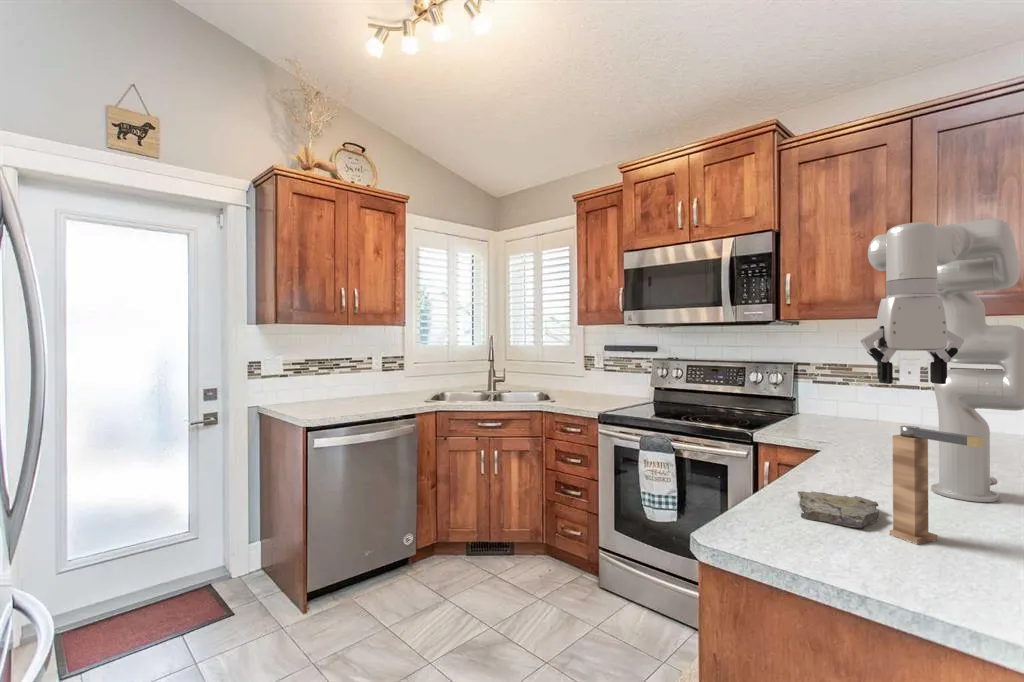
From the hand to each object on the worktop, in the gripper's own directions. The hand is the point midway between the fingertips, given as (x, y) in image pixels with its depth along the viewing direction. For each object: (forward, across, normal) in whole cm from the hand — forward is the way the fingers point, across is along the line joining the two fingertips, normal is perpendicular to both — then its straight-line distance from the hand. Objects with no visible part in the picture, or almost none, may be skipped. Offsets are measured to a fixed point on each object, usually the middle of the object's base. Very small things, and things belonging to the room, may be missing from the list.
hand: (911, 383), depth 93 cm
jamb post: (+31, -4, -6) cm, 32 cm away
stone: (+32, +4, -17) cm, 36 cm away
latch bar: (+11, -6, -2) cm, 13 cm away
